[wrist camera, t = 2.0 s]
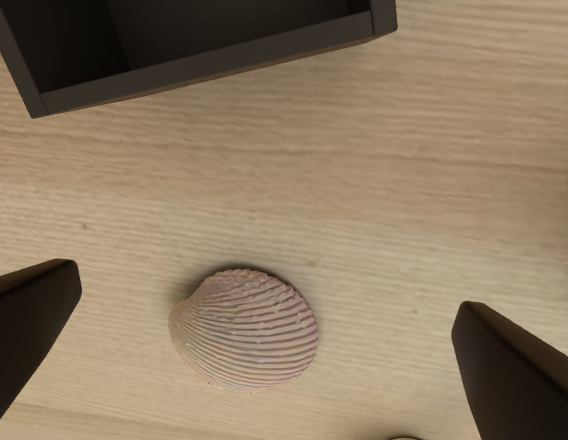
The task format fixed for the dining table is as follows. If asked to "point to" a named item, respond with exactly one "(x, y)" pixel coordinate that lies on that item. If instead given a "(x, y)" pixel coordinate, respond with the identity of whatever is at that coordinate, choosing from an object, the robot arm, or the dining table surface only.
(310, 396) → the dining table surface
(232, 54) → the waste bin
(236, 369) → the seashell
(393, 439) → the supplement bottle
